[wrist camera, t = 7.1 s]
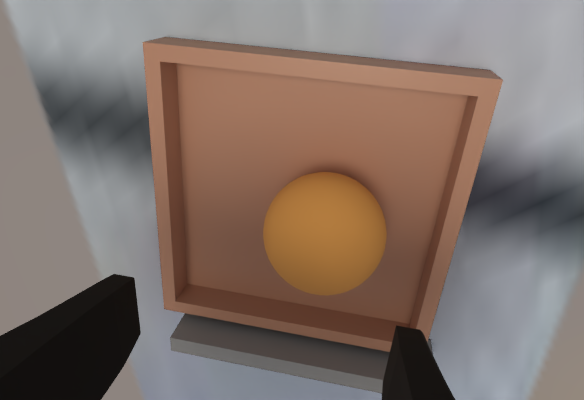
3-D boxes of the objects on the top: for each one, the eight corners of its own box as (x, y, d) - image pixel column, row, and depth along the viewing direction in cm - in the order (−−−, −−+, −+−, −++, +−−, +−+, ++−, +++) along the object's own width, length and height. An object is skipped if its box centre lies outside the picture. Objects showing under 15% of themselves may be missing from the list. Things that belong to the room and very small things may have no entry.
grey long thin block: (427, 351, 21) (433, 403, 19) (195, 308, 23) (171, 350, 20) (430, 339, 21) (438, 391, 18) (195, 296, 23) (170, 337, 20)
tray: (419, 330, 21) (422, 358, 19) (179, 286, 22) (164, 308, 21) (490, 70, 15) (502, 80, 14) (165, 36, 17) (142, 42, 15)
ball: (321, 261, 20) (368, 330, 16) (231, 236, 18) (260, 309, 14) (371, 175, 19) (435, 228, 15) (281, 137, 17) (327, 187, 13)
